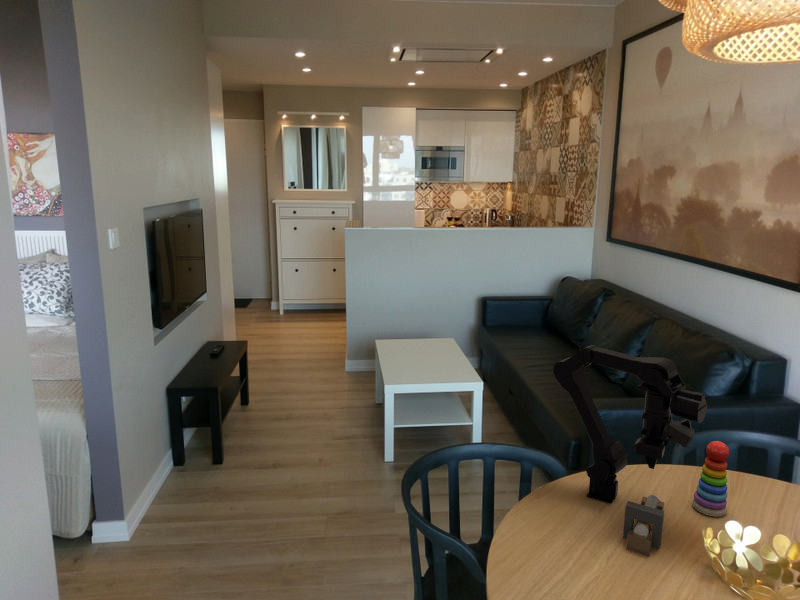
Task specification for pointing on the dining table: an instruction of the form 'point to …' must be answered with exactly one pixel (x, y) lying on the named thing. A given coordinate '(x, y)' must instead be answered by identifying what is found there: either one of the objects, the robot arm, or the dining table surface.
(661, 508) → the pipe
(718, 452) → the stacking toy
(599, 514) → the dining table surface
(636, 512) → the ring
